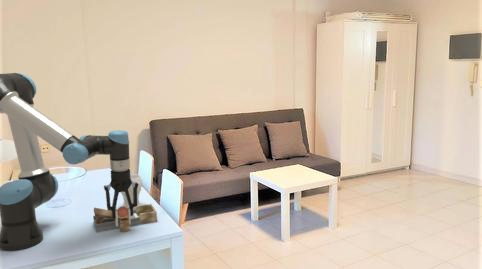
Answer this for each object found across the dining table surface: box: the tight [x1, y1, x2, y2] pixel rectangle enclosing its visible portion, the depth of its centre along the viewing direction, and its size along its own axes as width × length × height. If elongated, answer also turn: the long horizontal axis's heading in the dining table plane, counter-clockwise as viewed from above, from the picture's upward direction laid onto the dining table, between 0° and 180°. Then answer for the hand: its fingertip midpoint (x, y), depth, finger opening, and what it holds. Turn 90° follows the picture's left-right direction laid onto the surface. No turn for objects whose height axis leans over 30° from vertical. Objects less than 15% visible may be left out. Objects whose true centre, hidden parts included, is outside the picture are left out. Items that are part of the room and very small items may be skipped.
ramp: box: [93, 207, 128, 224], centre depth 170 cm, size 14×8×6 cm, turn 114°
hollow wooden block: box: [119, 217, 131, 233], centre depth 164 cm, size 3×3×5 cm
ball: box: [117, 206, 128, 217], centre depth 163 cm, size 4×4×4 cm
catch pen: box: [136, 203, 158, 225], centre depth 176 cm, size 7×11×4 cm, turn 24°
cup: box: [120, 173, 143, 210], centre depth 189 cm, size 11×11×15 cm
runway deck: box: [92, 209, 142, 233], centre depth 171 cm, size 18×11×3 cm, turn 114°
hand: (123, 224), depth 164 cm, fingers closed on ball, 4 cm apart
